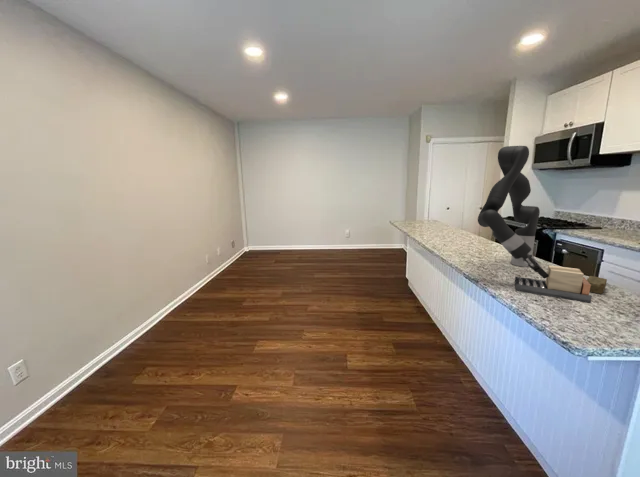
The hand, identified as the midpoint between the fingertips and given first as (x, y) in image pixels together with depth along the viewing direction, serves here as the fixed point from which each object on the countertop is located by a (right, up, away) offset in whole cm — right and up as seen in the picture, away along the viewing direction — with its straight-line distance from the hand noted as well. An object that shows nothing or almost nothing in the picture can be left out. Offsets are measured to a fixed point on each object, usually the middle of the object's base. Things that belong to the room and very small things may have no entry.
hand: (546, 276), depth 118 cm
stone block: (+23, -6, +2) cm, 24 cm away
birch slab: (+5, -4, -2) cm, 7 cm away
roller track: (+1, -6, 0) cm, 7 cm away
